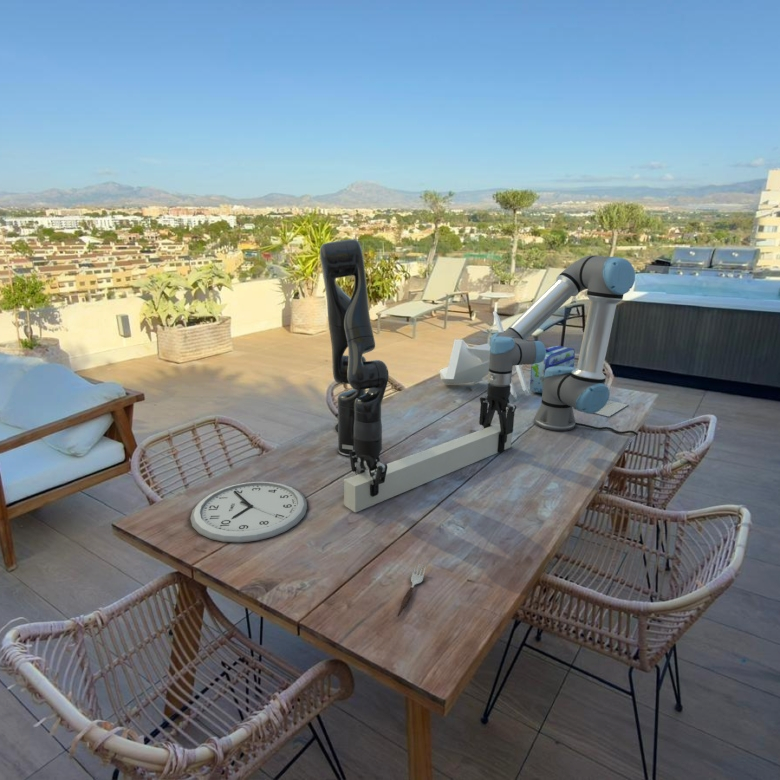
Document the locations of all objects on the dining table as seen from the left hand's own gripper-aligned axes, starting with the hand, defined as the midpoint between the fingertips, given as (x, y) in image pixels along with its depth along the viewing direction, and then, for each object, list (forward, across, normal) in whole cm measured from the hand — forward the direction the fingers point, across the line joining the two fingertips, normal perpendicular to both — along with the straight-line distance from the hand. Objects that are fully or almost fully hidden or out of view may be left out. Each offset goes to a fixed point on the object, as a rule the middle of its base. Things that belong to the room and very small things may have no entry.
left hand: (367, 491), depth 144 cm
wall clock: (+3, -16, -27) cm, 32 cm away
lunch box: (+3, -26, +132) cm, 135 cm away
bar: (+3, 0, +28) cm, 28 cm away
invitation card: (+3, +1, +129) cm, 129 cm away
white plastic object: (+3, -46, +104) cm, 113 cm away
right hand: (+3, 0, +56) cm, 56 cm away
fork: (+3, +35, -17) cm, 39 cm away
